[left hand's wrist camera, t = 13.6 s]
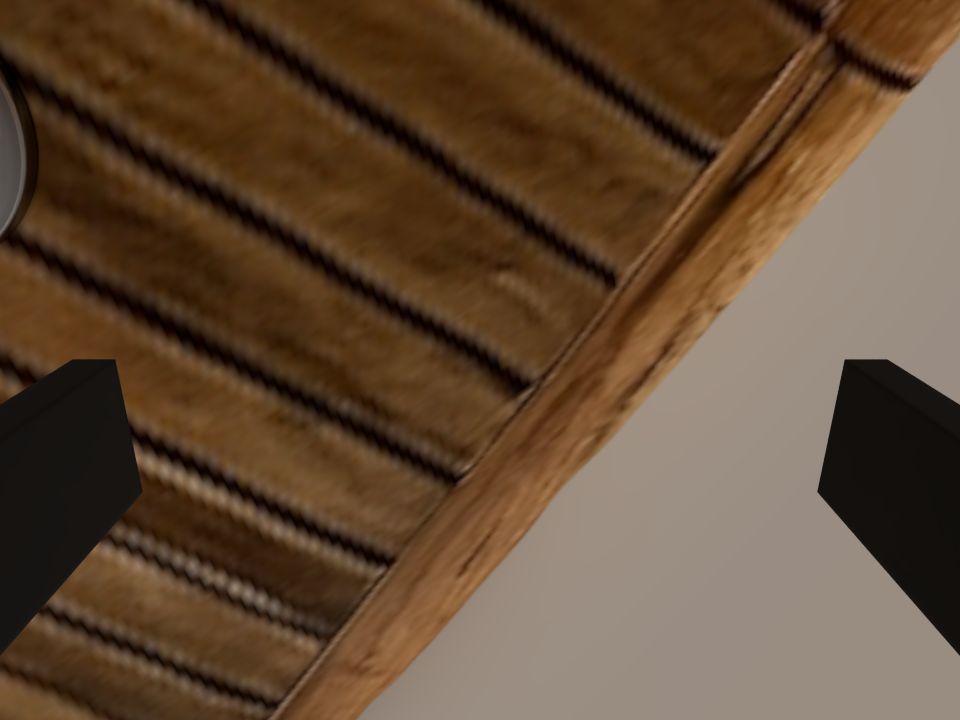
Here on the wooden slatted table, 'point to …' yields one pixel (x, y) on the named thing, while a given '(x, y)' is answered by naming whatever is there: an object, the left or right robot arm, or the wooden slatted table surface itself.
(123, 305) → the wooden slatted table surface
